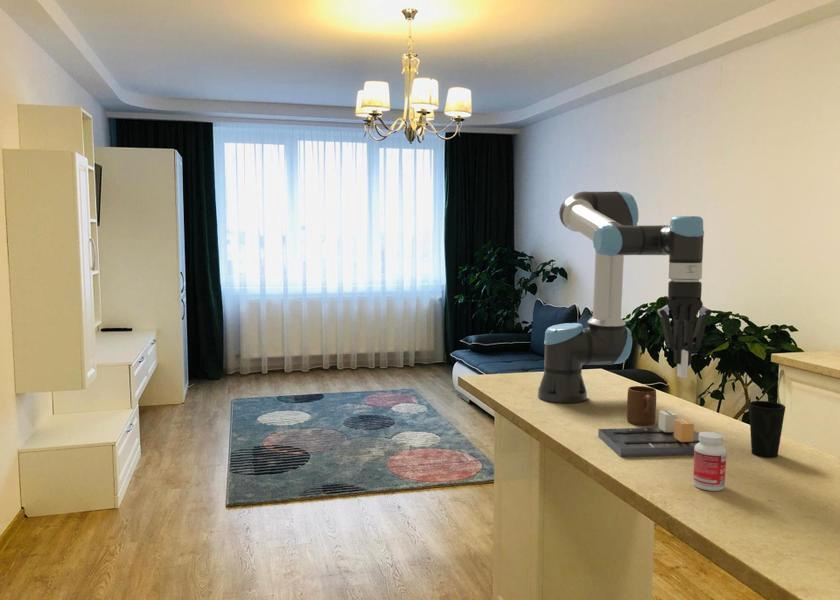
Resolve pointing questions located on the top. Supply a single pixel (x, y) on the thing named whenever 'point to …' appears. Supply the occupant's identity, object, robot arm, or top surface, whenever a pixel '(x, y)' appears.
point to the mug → (641, 405)
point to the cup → (766, 427)
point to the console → (646, 442)
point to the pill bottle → (709, 462)
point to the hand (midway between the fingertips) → (682, 376)
